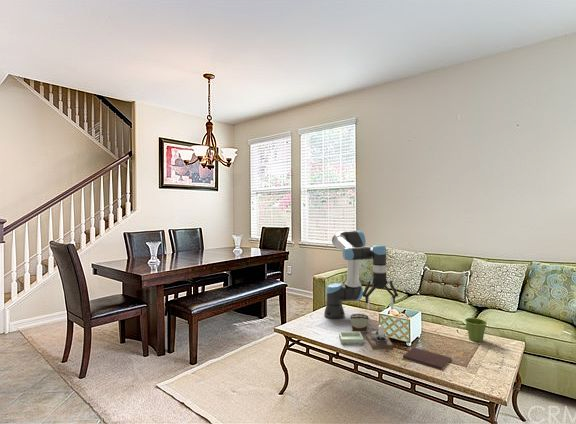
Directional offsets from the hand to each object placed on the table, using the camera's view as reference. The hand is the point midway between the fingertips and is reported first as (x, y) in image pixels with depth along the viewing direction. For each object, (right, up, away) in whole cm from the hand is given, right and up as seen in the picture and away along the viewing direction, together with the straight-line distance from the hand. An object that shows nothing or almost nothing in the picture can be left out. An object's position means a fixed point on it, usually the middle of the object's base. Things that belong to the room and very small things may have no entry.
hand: (380, 308), depth 192 cm
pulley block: (+1, -22, +5) cm, 23 cm away
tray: (-15, -22, +10) cm, 28 cm away
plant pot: (+60, -21, +8) cm, 64 cm away
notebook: (+20, -23, -16) cm, 34 cm away
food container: (-7, -22, +27) cm, 35 cm away
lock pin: (+1, -20, 0) cm, 20 cm away
